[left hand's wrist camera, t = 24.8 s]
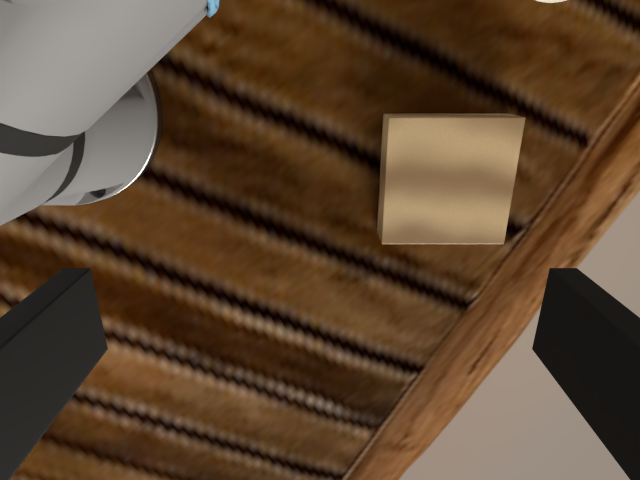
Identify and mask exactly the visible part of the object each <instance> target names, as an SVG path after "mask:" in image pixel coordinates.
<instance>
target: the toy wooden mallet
mask: <svg viewBox="0 0 640 480" xmlns="http://www.w3.org/2000/svg"><path fill="white" fill-rule="evenodd" d="M536 1H540V2H546V3H555V2H561V1H566V0H536Z"/></svg>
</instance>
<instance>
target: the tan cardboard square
mask: <svg viewBox="0 0 640 480" xmlns="http://www.w3.org/2000/svg"><path fill="white" fill-rule="evenodd" d="M524 123H525V118H524V117H520V116H516V115H512V114H383V130H382V149H381V168H380V187H379V206H378V225H377V232H378V234H379V238H380V240H381V243H382V244H504V240H505V234H506V228H507V222H508V217H509V211H510V205H511V199H512V193H513V187H514V181H515V175H516V170H517V164H518V158H519V152H520V146H521V140H522V134H523V129H524Z"/></svg>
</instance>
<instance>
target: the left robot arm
mask: <svg viewBox="0 0 640 480" xmlns="http://www.w3.org/2000/svg"><path fill="white" fill-rule="evenodd" d="M218 8H219V0H0V225H2V224H4V223H6V222H8V221H10V220H12V219H14V218H16V217H18V216H20V215H22V214H24V213H26V212H28V211H30V210H32V209H34V208H36V207H38V206H40V205H82V204H88V203H93V202H96V201H100V200H103V199H106V198H109V197H111V196H113V195H115V194H117V193H119V192H120V191H122V190H124V189H125V188H127V187H128V186H130V185H131V184H133V183H134V182H135V181H136V180H137V179H138V178H139V177H140V176H141V175H142V174H143V173H144V172H145V170H146V169H147V168H148V166H149V165H150V163H151V161H152V160H153V158H154V155H155V153H156V151H157V148H158V145H159V141H160V136H161V129H162V109H161V101H160V96H159V92H158V89H157V85H156V82H155V80H154V77H153V74H152V72H151V70H150V69H151V68H152V67H153V66H154V65H155V64H156V63H157V62H158V61H159V60H160V59H161V58H162V57H163V56H164V55H165V54H166V53H168V52H169V51H170V50H171V49H172V48H173V47H174V46H175V45H176V44H177V43H178V42H179V41H180V40H181V39H182V38H183V37H184V36H185V35H186V34H187V33H188V32H189V31H190V30H191V29H192V28H193V27H194V26H195V25H196V24H198V23H199V22H200V21H201V20H202V19H203V18H204V17H205V16H208V17H209V18H210V17H211V16H212V15H213V14H215V13H216V11H217V9H218ZM107 349H108V348H107V343H106V339H105V334H104V330H103V325H102V320H101V316H100V311H99V307H98V302H97V298H96V293H95V288H94V284H93V279H92V275H91V270H90V268H63V269H62V270H61V271H59V272H58V273H57V274H55V275H54V276H53V277H52V278H50V279H49V280H48V281H47V282H45V283H44V284H43V285H41V286H40V287H39V288H38V289H36V290H35V291H34V292H33V293H31V294H30V295H29V296H28V297H26V298H25V299H24V300H22V301H21V302H20V303H19V304H17V305H16V306H15V307H14V308H12V309H11V310H10V311H9V312H7V313H6V314H5V315H3V316H2V317H1V318H0V480H10V478H11V477H12V476H13V474H14V473H15V472H16V470H17V469H18V468H19V466H20V465H21V464H22V462H23V461H24V460H25V458H26V457H27V456H28V454H29V453H30V452H31V450H32V449H33V448H34V446H35V445H36V444H37V442H38V441H39V440H40V439H41V437H42V436H43V435H44V433H45V432H46V431H47V429H48V428H49V427H50V425H51V424H52V423H53V421H54V420H55V419H56V417H57V416H58V415H59V413H60V412H61V411H62V409H63V408H64V407H65V405H66V404H67V403H68V401H69V400H70V399H71V397H72V396H73V395H74V393H75V392H76V391H77V389H78V388H79V387H80V385H81V384H82V383H83V381H84V380H85V379H86V377H87V376H88V375H89V373H90V372H91V371H92V369H93V368H94V367H95V365H96V364H97V363H98V361H99V360H100V359H101V357H102V356H103V355H104V353H105V352H106V351H107ZM532 349H533V351H534V352H535V353H536V355H537V356H538V357H539V359H540V360H541V361H542V363H543V364H544V365H545V367H546V368H547V369H548V371H549V372H550V373H551V374H552V376H553V377H554V378H555V380H556V381H557V382H558V384H559V385H560V387H561V388H562V389H563V391H564V392H565V393H566V395H567V396H568V397H569V398H570V400H571V401H572V403H573V404H574V405H575V407H576V408H577V409H578V411H579V412H580V413H581V415H582V416H583V417H584V419H585V420H586V421H587V423H588V424H589V425H590V427H591V428H592V429H593V431H594V432H595V433H596V435H597V436H598V437H599V439H600V440H601V441H602V442H603V444H604V445H605V446H606V448H607V449H608V450H609V452H610V453H611V454H612V456H613V457H614V458H615V460H616V461H617V462H618V464H619V465H620V466H621V468H622V469H623V470H624V472H625V473H626V474H627V476H628V477H629V478H630V480H640V318H639V317H638V316H637V315H635V314H634V313H633V312H631V311H630V310H629V309H628V308H626V307H625V306H624V305H623V304H621V303H620V302H619V301H618V300H616V299H615V298H614V297H612V296H611V295H610V294H609V293H607V292H606V291H605V290H604V289H602V288H601V287H600V286H598V285H597V284H596V283H595V282H593V281H592V280H591V279H590V278H588V277H587V276H586V275H585V274H583V273H582V272H581V271H579V270H578V269H577V268H550V270H549V275H548V279H547V284H546V288H545V293H544V298H543V302H542V307H541V311H540V316H539V321H538V325H537V330H536V334H535V339H534V344H533V348H532Z"/></svg>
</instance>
